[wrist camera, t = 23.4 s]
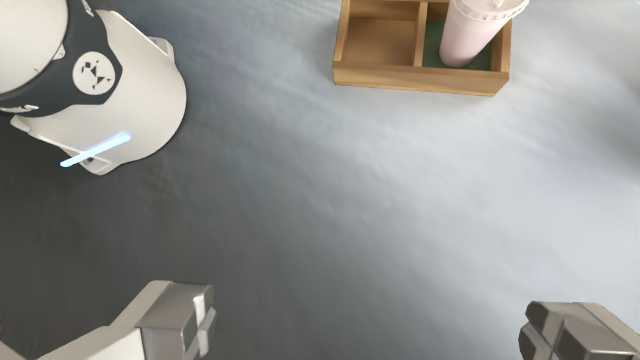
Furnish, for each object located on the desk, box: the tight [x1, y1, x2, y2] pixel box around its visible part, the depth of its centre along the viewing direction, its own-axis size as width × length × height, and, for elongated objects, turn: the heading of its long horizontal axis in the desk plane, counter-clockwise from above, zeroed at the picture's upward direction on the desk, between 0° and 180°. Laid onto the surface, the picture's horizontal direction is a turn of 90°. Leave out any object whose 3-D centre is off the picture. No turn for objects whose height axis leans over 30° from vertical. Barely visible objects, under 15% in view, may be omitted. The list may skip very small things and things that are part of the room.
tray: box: [332, 0, 512, 96], centre depth 33 cm, size 9×17×4 cm, turn 82°
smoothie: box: [439, 0, 530, 68], centre depth 27 cm, size 6×6×14 cm
